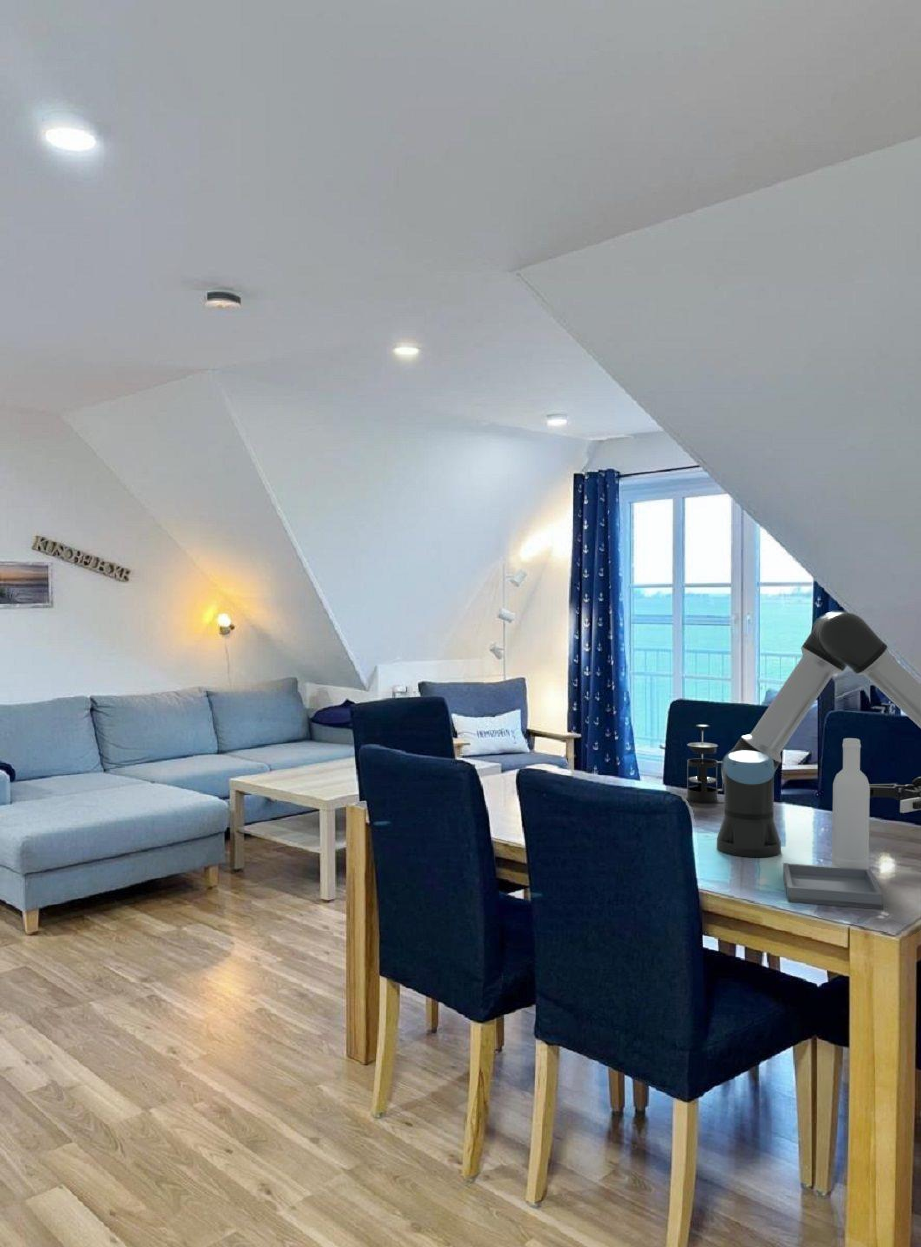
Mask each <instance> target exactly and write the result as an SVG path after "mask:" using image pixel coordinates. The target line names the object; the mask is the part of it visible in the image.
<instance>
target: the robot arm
mask: <svg viewBox="0 0 921 1247" xmlns="http://www.w3.org/2000/svg"><path fill="white" fill-rule="evenodd" d="M800 649H801V654H802V657H801V659H800V660H799V661H798V663H797V664H796V665H795V667H794V669H793V670H792V672H791V673H790V674H789V676H788V678H787V679H786V681H784V683H783V685H782V686H781V688H780V689H779V691H778V692H777V694H776V695H775V697H774V698H773V700H772V702H770V705H769V706H768V707H767V709H766V710H765V712H764V713H763V715H762V716H761V718H760V719H759V720H758V722H757V724H756V726H755V727H754V728H753V730H751V732H750V733H749V734H745V735H741V736H740V738H739V739H738V741H737V743H736V744H735V745H734V747H733V748H732V749H731V750H729V751H728V752H727V753H726V754H725V755H724V757H723V759H722V760H721V761H722V763H721V765H720V766H721V767H720V775H721V778H723V781H724V791H723V793H724V794H723V795H724V796H723V797H724V800H723V801H724V803H723V804H724V806H723V807H724V812H723V813H724V815H723V820H722V823H721V825H720V829H719V831H718V834H717V837H716V848H717V850H718V851H721V852H723V853H725V854H729V855H733V856H737V857H738V856H739V857H744V858H745V857H746V858H767V857H768V858H769V857H774V856H777V855H780V854H781V852H782V843H781V839H780V835H779V833H778V829H777V826H776V823H775V820H774V819H775V816H774V812H775V811H774V807H775V806H774V805H775V803H774V802H775V801H774V799H775V796H774V795H775V794H774V791H775V790H774V789H775V787H774V786H775V785H774V784H775V783H774V781H775V780H774V779H775V772H776V770H777V769H778V767H779V766H780V764H781V763H782V761H783V760H782V758H781V757H782V756H781V752H782V751H783V749H784V747H785V746H786V745H787V744H788V742H789V740H790V739H791V737H792V736H793V734H794V733H795V731H796V730H797V728H798V727H799V726H800V724H801V722H802V721H803V720H804V719H805V716H806V715H807V713H808V712H809V711H810V709H812V706H813V705H814V704H815V702H816V700H817V699H818V698H819V696H820V694H821V693H822V692H823V690H824V688H826V686H827V684H828V683H829V681H830V680H831V678H832V677H833V676H834V675H835V674H841V673H843V672H844V670H845V669H846V668H847V667H848V668H849V669H850V670H852V671H853V672H854V673H855V674H856V675H860V676H864V677H865V678H867V679H868V680H869V682H870V683H872V684H873V685H874V686H875V687H876V688H877V689H878V690H879V691H881V693H883V694H884V695H885V696H886V697H887V698H888V700H890V701H891V702H892V703H893V704H894V705H895V706H896V707H897V708H899V710H901V712H902V713H904V714H905V715H906V716H907V717H908V718H909V719H910V720H911V721H913V723H915V725H917V726H918V728H920V729H921V682H920V681H919V680H918V679H917V678H916V677H915V676H913V675H912V673H910V672H909V671H908V669H907V668H905V667H904V666H903V665H902V664H901V663H900V662H899V661H898V660H897V659H895V657H894V656H892V655H891V654H890V652H889V646H888V645H887V644H886V643H885V642H884V641H883V640H882V639H881V638H880V637H879V636H878V635H877V633H875V631H873V629H872V628H871V627H870V626H869V625H868V623H867V622H866V621H865V620H864V619H863V618H861V617H860V616H859V615H857V614H854V613H851V612H847V611H843V610H831V611H829V612H826V613H823V615H822V614H821V616H819V617H818V618H816V620H815V622H814V623H813V624H812V627H811V630H810V634H809V635H808V636H807V638H806V639H805V641H804V643H803V644H802V646H801V647H800ZM869 785H870V797H869V799H871V798H886V799H887V798H888V799H889V798H891V799H893V798H894V799H895V800H896V801H899V813H902V814H905V813H909V812H917V811H921V776H918V777H915V779H914V780H912V781H911V783H909V784H899V783H897V782H893V783H872V784H871V783H869ZM899 793H900V796H899Z"/></svg>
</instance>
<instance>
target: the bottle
mask: <svg viewBox="0 0 921 1247" xmlns="http://www.w3.org/2000/svg"><path fill="white" fill-rule="evenodd" d="M861 748H862V745H861V740H860V739H859V738H856V737H855V738H854V737H847V738H846V737H845V738H843V739H842V769H841V770H840V771H839V772H838V773H836V775H835V777H834V780H833V783H832V841H831V842H832V843H831V844H832V846H831V847H832V848H831V849H832V850H831V851H832V853H831V863H832V865H831V866H833V867H847V868H862V869H870V798H871V797H870V785H869V784H870V783H869V780H868V777H867V776H866V774H865V773H864V772H862V770H861ZM869 797H870V798H869Z"/></svg>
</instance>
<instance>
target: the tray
mask: <svg viewBox="0 0 921 1247" xmlns="http://www.w3.org/2000/svg"><path fill="white" fill-rule="evenodd" d="M782 863H783V865H782V867H783V868H782V870H783V871H782V873H783V874H782V876H783V882H784V888H785V893H786V894H785V895H786V900H787V902H788V903H796V904H809V905H811V904H812V905H822V906H823V905H824V906H835V907H836V906H837V907H845V908H846V907H848V908H857V909H858V908H859V909H860V908H862V909H870V910H871V909H873V910H884V893H883V892H882V889H881V888H880V887H881V886H880V885H879V884H878V881H877V879H876V877H875V875H874V873H873V872H872V869H871V868H869V869H862V868H847V867H833V866H832V865H831V866H830V865H818V864H815V865H814V864H802V863H787V862H782Z"/></svg>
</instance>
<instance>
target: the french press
mask: <svg viewBox="0 0 921 1247" xmlns="http://www.w3.org/2000/svg"><path fill="white" fill-rule="evenodd" d="M695 727H696V728H697V727H698V728H700V732H701V742H689V743H687V744H686V745H687V747H689V749H690V750H691V751H692V752H693V753H694V754H696V755H701V758H698V757H697V758H696V757H695V758H689V759H687V761H686V762H687V765H686V766H687V770H686V771H687V772H686V774H687V779H686V780H687V781H686V784H687V785H686V788H687V789H686V801H688V802H691V803H697V804H714V803H718V802H719V798H718V795H719V794H718V792H724V781H723V778H722V777H721V778H722V783H721V784H722V786H721V787H722V788H718V779H719V778H718V777H719V776H718V771H719V768H718V766H719V764H722V761H723V760H721V761H720V760H719V761H718V760H716V759H713V758H704V755H712V754H716V753H717V748H718V747H719V745H718V744H716V743H711V742H704V732H705V728H710V725H709V724H696V725H695ZM689 767H690V768H691V767H693V768H697V776H690V775H689V773H690V772H689V770H690V769H689ZM708 768H709V769H710V768H715V773H716V774H715V775H716V776H715V777H712V776H711V777H710V776H708ZM689 776H690V777H689ZM689 783H692V784H693V783H695V784H697V785H692V786H689ZM714 783H715V787H712V786H708V784H714Z"/></svg>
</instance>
